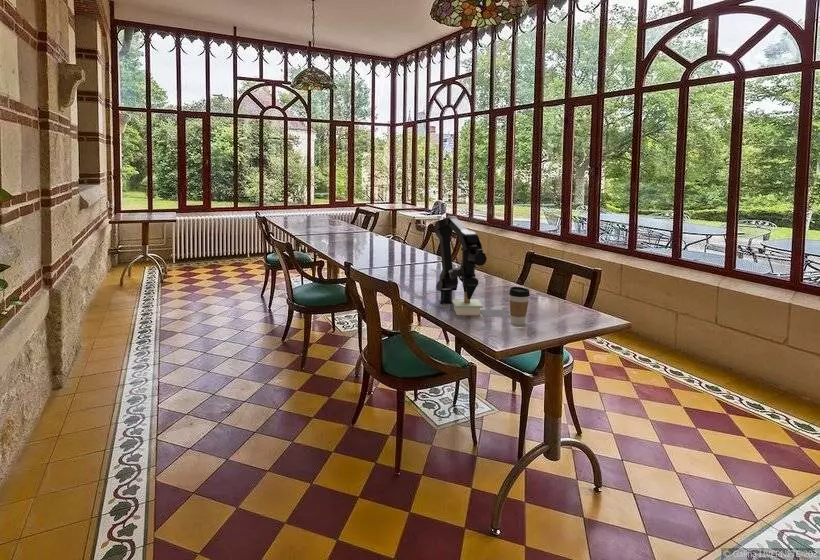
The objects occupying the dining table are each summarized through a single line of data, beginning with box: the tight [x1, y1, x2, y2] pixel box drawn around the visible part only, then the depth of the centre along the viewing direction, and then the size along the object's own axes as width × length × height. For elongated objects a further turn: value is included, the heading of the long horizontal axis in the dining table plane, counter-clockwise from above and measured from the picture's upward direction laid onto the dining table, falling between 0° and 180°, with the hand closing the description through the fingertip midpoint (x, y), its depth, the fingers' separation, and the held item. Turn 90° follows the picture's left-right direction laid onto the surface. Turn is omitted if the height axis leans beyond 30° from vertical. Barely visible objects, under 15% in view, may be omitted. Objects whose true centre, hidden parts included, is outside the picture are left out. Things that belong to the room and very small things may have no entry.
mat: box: [480, 309, 510, 318], centre depth 237 cm, size 12×12×1 cm
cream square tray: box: [453, 305, 481, 317], centre depth 237 cm, size 10×10×4 cm
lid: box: [452, 291, 484, 309], centre depth 236 cm, size 12×12×6 cm
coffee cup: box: [508, 286, 531, 326], centre depth 221 cm, size 8×8×15 cm
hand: (467, 296), depth 236 cm, fingers open, 9 cm apart
